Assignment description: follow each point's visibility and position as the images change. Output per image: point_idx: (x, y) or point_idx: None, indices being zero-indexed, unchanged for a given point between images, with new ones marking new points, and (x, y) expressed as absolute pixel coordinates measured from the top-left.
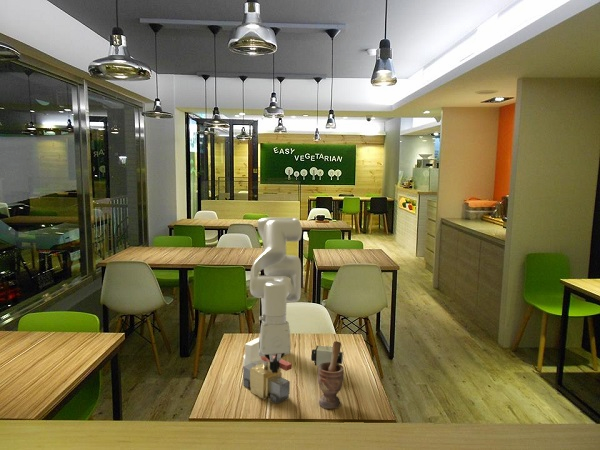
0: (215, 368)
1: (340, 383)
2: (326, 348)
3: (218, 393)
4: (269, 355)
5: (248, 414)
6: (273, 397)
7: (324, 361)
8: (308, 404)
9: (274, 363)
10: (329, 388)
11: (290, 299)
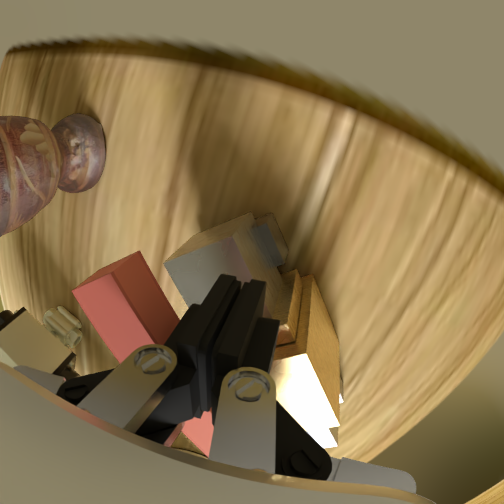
0: (367, 461)
1: None
2: None
3: (440, 363)
4: (270, 458)
5: (417, 179)
6: (276, 237)
7: (41, 344)
8: (140, 166)
9: (224, 339)
10: (24, 117)
11: None
